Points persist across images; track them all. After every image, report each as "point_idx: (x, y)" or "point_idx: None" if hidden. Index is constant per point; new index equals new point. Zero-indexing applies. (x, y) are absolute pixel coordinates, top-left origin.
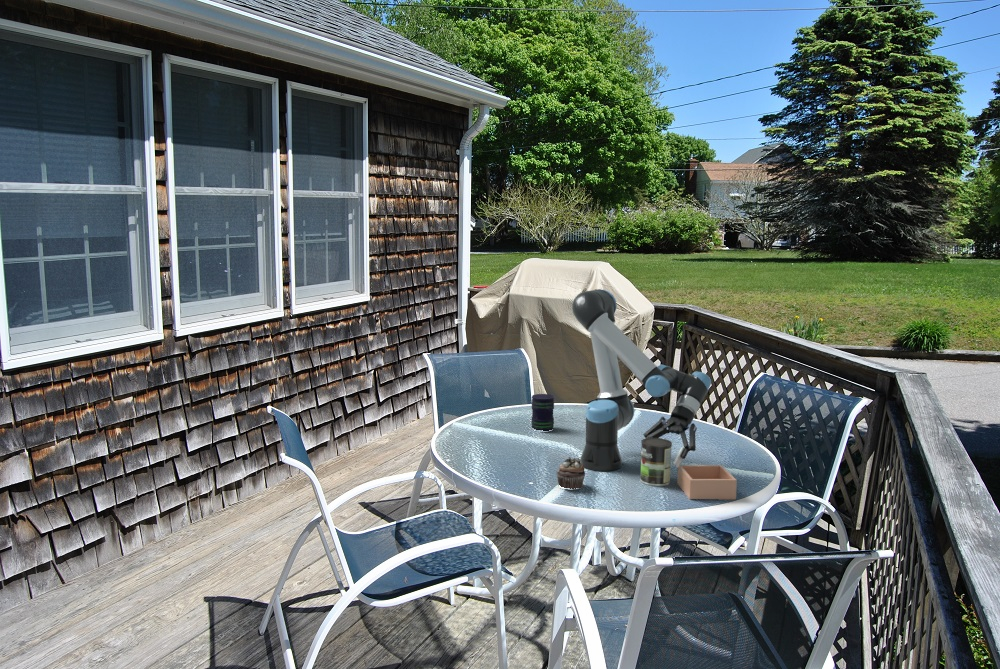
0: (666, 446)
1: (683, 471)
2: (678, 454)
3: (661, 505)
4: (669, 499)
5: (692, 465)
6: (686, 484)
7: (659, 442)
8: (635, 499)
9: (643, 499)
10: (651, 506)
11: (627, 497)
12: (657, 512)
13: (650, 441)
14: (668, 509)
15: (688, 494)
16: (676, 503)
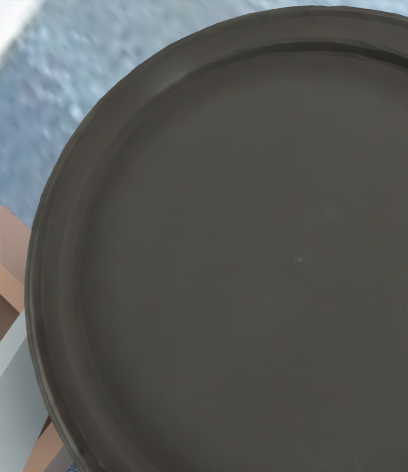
0: (37, 216)
1: (14, 280)
2: (7, 346)
3: (50, 63)
4: (64, 138)
5: (37, 468)
6: (3, 231)
7: (247, 304)
8: (160, 21)
9: (137, 48)
10: (70, 24)
11: (198, 8)
12: (23, 3)
13: (404, 215)
14: (10, 56)
15: (4, 213)
16: (21, 127)
